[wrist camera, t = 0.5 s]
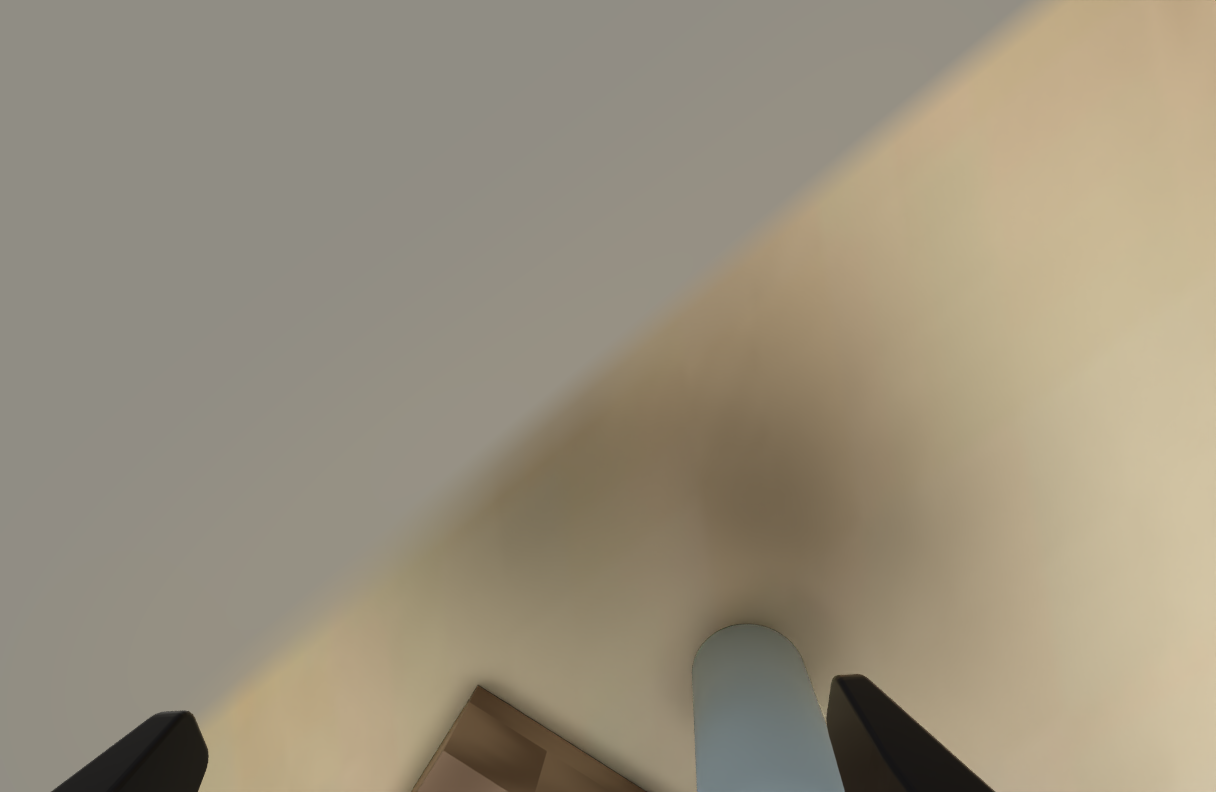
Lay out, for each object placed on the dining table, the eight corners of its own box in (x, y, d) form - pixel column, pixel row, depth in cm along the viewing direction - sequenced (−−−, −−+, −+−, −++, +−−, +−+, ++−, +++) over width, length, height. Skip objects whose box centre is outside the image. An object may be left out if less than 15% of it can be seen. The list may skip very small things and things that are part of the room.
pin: (828, 663, 22) (900, 827, 15) (765, 748, 22) (804, 943, 15) (731, 603, 22) (757, 738, 15) (670, 689, 22) (668, 857, 16)
